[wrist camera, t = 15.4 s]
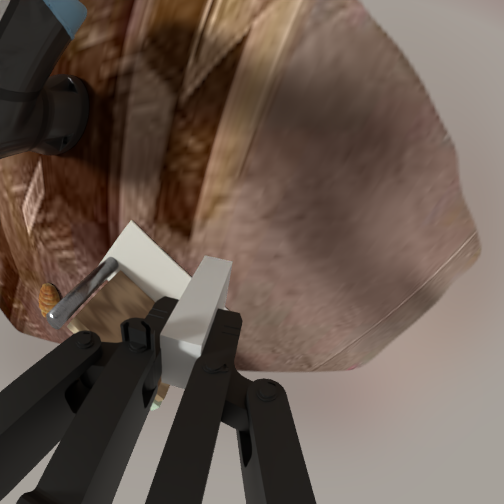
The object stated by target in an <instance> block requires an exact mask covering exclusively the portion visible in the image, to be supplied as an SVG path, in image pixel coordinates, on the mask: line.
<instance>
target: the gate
mask: <svg viewBox="0 0 504 504" xmlns="http://www.w3.org/2000/svg"><path fill="white" fill-rule="evenodd" d="M154 304H155V302H154V301H153V300H152V299H151V298H150V297H149V296H148V295H147V294H146V293H145V292H143V291H142V290H141V289H140V288H139V287H138V286H137V285H136V284H135V283H134V282H133V281H132V280H131V279H130V278H129V277H127V276H126V275H125V274H124V273H123V272H122V271H121V270H120V271H119V272H118V273H117V274H116V275H115V276H114V277H113V278H112V279H111V280H110V281H109V282H108V283H107V284H106V285H105V286H104V287H103V288H102V289H101V290H100V291H99V292H98V293H97V294H96V295H95V296H94V297H93V298H92V299H91V300H90V301H89V302H88V303H87V305H86V306H85V307H84V308H83V309H82V310H81V311H80V312H79V313H78V314H77V315H76V316H75V317H74V319H73V320H72V321H71V322H70V323H69V325H68V326H67V327H68V328H69V329H70V330H71V331H72V332H73V333H74V334H75V333H77V332H79V331H84V330H87V331H92V332H95V333H96V334H97V335H98V336H99V337H100V339H101V342H113V343H118V342H122V336H121V328H120V324H121V323H122V322H123V321H124V320H127V319H129V318H136V317H137V318H144V319H145V317H146V316H147V315H148V313H149V311H150V310H151V309H152V307H153V305H154ZM169 386H170V385H169V384H166V383H162V380H161V377H160V379H159V381H158V391H157V394H156V397H155V400H156V401H158V402H160V401H162V400H164V398H165V396H166V394H167V391H168V388H169Z"/></svg>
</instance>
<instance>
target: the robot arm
mask: <svg viewBox="0 0 504 504" xmlns="http://www.w3.org/2000/svg"><path fill="white" fill-rule="evenodd" d="M86 16H87V9H86V7H85V6H84V5H83V4H82V3H80V2H79V1H78V0H0V159H2V158H5V157H8V156H12V155H15V154H19V153H23V152H26V151H32V152H36V153H40V154H44V155H56V154H61V153H64V152H66V151H68V150H70V149H71V148H72V147H73V146H74V145H75V144H76V143H77V142H78V140H79V139H80V137H81V136H82V134H83V132H84V129H85V127H86V123H87V120H88V114H89V98H88V93H87V90H86V88H85V86H84V84H83V83H82V81H81V80H80V79H78V78H77V77H75V76H72V75H65V74H58V75H54V76H51V77H49V76H50V74H51V72H52V70H53V69H54V67H55V65H56V64H57V62H58V60H59V59H60V57H61V55H62V54H63V52H64V51H65V49H66V48H67V46H68V45H69V43H70V42H71V40H73V39H74V35H75V34H76V32H77V30H78V29H79V27H80V26H81V24H82V23H83V21H84V20H85V18H86ZM232 262H233V261H228V260H223V259H219V258H214V257H210V256H205V257H204V258H203V260H202V262H201V263H200V265H199V267H198V268H197V270H196V272H195V274H194V275H193V277H192V279H191V280H190V282H189V284H188V286H187V287H186V289H185V291H184V293H183V294H182V296H181V298H180V300H178V299H174V298H171V297H167V296H164V297H162V298H161V299H159V300H157V301H156V302H155V304H154V305H153V307H152V309H151V310H150V311H149V313H148V315H147V316H146V317H145V319H144V318H137V317H136V318H129V319H127V320H124V321H123V322H122V323H121V324H120V328H121V336H122V342H118V343H113V342H101V339H100V337H99V336H98V335H97V334H96V333H95V332H92V331H87V330H84V331H79V332H77V333H75V334H73V335H72V336H71V337H69V338H68V339H67V340H65V341H64V342H63V343H61V344H60V345H59V346H57V347H56V348H55V349H54V350H53V351H51V352H50V353H48V354H47V355H46V356H44V357H43V358H42V359H41V360H39V361H38V362H37V363H36V364H34V365H33V366H32V367H30V368H29V369H28V370H27V371H25V372H24V373H23V374H22V375H20V376H19V377H18V378H17V379H16V380H14V381H13V382H12V383H11V384H9V385H8V386H7V387H6V388H5V389H3V390H2V391H1V392H0V501H1V500H2V499H3V498H4V497H5V496H6V495H7V494H8V493H9V492H10V491H11V490H12V489H13V488H14V487H15V486H16V485H17V484H18V483H19V482H20V481H21V480H22V479H23V478H24V477H25V476H26V475H27V474H28V473H29V472H30V471H31V470H32V469H33V468H34V467H35V466H36V465H37V464H38V463H39V462H40V461H41V460H42V459H43V458H44V456H46V455H47V454H48V453H49V451H51V450H52V448H53V447H54V446H55V445H56V444H57V443H58V442H59V441H60V440H61V441H60V443H59V445H58V447H57V449H56V450H55V452H54V454H53V456H52V458H51V459H50V461H49V463H48V465H47V467H46V469H45V471H44V473H43V475H42V477H41V479H40V481H39V483H38V485H37V487H36V488H35V489H34V490H33V491H31V492H27V493H24V494H23V495H22V496H21V497H20V498H19V500H18V501H17V503H16V504H112V502H113V499H114V497H115V494H116V491H117V489H118V486H119V484H120V481H121V479H122V476H123V474H124V471H125V469H126V466H127V464H128V461H129V458H130V456H131V454H132V451H133V449H134V446H135V444H136V441H137V439H138V437H139V434H140V432H141V429H142V427H143V425H144V422H145V420H146V418H147V415H148V413H149V411H150V408H151V406H152V403H153V401H154V399H155V397H156V394H157V391H158V381H159V379H160V377H161V380H162V383H166V384H169V385H172V386H176V387H180V388H184V389H185V391H184V394H183V396H182V399H181V402H180V405H179V407H178V410H177V413H176V416H175V419H174V421H173V425H172V427H171V430H170V433H169V436H168V439H167V441H166V444H165V447H164V450H163V453H162V456H161V458H160V461H159V464H158V467H157V470H156V473H155V476H154V479H153V482H152V484H151V487H150V490H149V494H148V496H147V499H146V502H145V504H202V500H203V495H204V491H205V487H206V482H207V478H208V474H209V469H210V465H211V461H212V457H213V452H214V448H215V443H216V439H217V435H218V430H219V426H220V422H223V423H225V424H227V425H229V426H231V427H233V428H235V429H236V431H237V440H238V448H239V455H240V463H241V470H242V477H243V484H244V491H245V498H246V504H316V501H315V497H314V494H313V490H312V486H311V483H310V479H309V475H308V472H307V468H306V464H305V461H304V457H303V454H302V450H301V447H300V443H299V439H298V435H297V432H296V428H295V424H294V421H293V417H292V413H291V410H290V406H289V402H288V399H287V395H286V392H285V390H284V388H283V387H282V386H281V385H280V384H279V383H278V382H276V381H273V380H271V379H257V380H255V381H254V382H253V381H251V380H249V379H247V378H245V377H243V376H242V375H241V374H239V373H238V372H237V370H236V368H235V366H234V358H235V354H236V349H237V345H238V340H239V335H240V331H241V326H242V318H241V316H240V313H237V312H232V311H228V310H224V307H225V303H226V298H227V292H228V286H229V280H230V274H231V268H232Z"/></svg>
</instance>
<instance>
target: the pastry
mask: <svg viewBox="0 0 504 504" xmlns="http://www.w3.org/2000/svg"><path fill="white" fill-rule="evenodd" d="M58 302H60V297H59V294H58V291H57V290H56V288H55V287H54V286H53V285H51V284H50V283H46V284H43V285H42V288H41V290H40V294H39V308H40V309H41V310H42V315H43V316H44V317H45V318H46V314H47V313H48V312H49V311H50V310H51V309H52V308H53V307H54V306H55V305H56V304H57V303H58Z"/></svg>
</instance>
